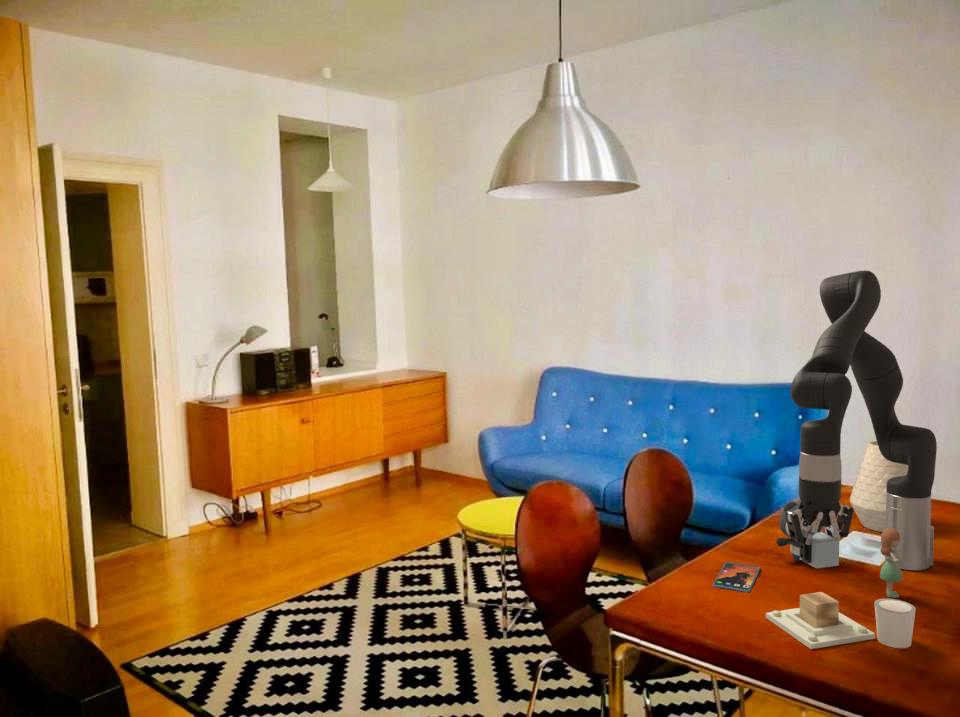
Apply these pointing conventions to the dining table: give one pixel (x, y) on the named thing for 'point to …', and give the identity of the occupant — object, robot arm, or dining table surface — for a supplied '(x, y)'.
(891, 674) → the dining table surface
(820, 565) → the grey cube
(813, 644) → the baseplate
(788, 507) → the toy
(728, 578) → the smartphone
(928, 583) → the dining table surface
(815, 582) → the dining table surface
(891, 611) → the white cup
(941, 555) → the dining table surface
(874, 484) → the vase
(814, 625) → the tan wooden cube
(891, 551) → the toy
